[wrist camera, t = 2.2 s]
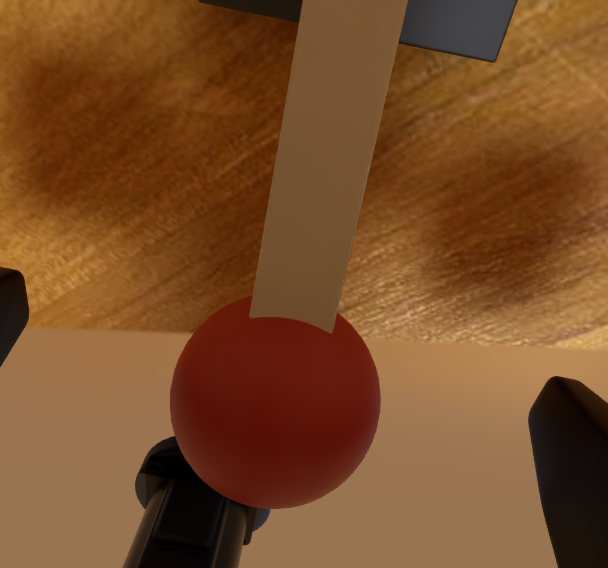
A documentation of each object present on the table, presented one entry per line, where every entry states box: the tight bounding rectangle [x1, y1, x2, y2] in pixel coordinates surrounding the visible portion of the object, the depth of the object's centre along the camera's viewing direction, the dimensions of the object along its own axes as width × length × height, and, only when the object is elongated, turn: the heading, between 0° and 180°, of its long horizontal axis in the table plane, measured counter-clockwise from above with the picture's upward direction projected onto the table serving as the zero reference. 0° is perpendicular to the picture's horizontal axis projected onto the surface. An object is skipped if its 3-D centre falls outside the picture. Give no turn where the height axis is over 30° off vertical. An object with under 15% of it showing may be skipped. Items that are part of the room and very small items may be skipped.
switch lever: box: [170, 0, 408, 509], centre depth 6 cm, size 12×3×3 cm, turn 170°
